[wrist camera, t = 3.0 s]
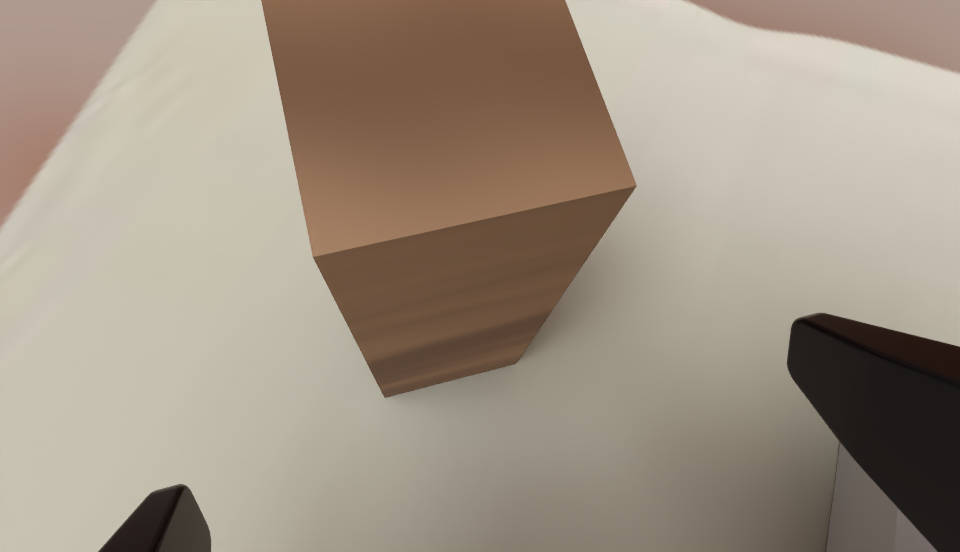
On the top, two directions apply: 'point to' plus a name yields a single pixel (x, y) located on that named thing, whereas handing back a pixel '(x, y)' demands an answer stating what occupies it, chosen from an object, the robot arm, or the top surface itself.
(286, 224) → the top surface
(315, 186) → the walnut block
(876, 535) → the plinth
